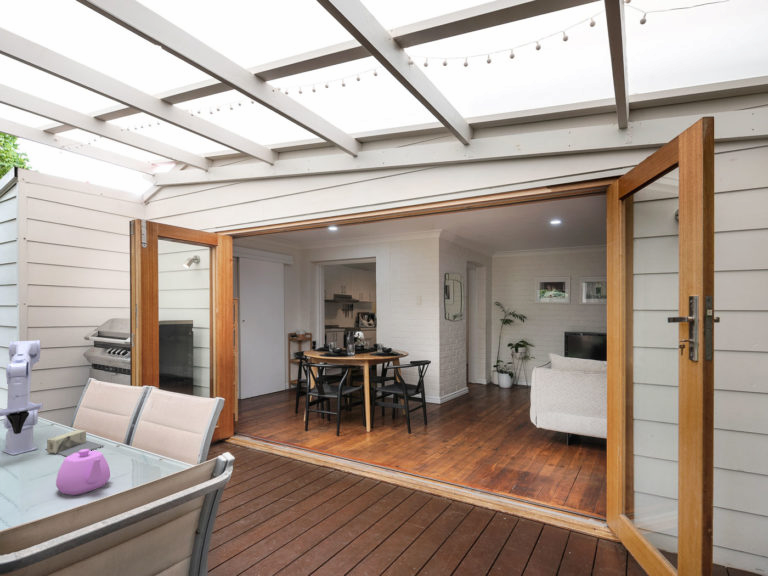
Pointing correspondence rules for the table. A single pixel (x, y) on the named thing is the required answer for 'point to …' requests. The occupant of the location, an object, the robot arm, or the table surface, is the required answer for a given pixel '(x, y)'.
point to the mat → (79, 448)
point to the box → (66, 441)
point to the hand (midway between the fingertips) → (17, 433)
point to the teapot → (82, 472)
